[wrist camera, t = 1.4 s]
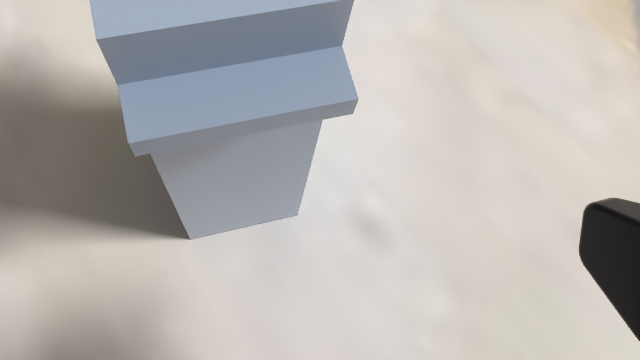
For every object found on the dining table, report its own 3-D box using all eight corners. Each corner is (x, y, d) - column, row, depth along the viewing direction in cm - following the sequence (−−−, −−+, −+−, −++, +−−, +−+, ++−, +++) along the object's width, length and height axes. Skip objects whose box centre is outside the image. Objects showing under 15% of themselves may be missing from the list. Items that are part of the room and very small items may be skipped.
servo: (304, 243, 21) (385, 27, 8) (195, 268, 20) (91, 77, 7) (264, 86, 23) (275, -293, 10) (163, 104, 22) (35, -277, 9)
